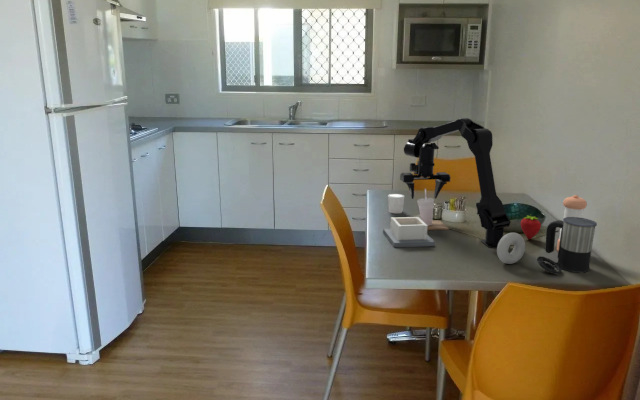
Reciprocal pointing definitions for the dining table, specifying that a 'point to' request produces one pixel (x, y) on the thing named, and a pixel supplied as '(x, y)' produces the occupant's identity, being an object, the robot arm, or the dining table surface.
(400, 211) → the shot glass
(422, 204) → the smoothie
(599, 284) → the dining table surface
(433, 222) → the coaster
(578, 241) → the milk frother
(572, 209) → the pepper shaker
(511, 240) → the donut
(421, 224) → the white open box
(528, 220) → the strawberry
